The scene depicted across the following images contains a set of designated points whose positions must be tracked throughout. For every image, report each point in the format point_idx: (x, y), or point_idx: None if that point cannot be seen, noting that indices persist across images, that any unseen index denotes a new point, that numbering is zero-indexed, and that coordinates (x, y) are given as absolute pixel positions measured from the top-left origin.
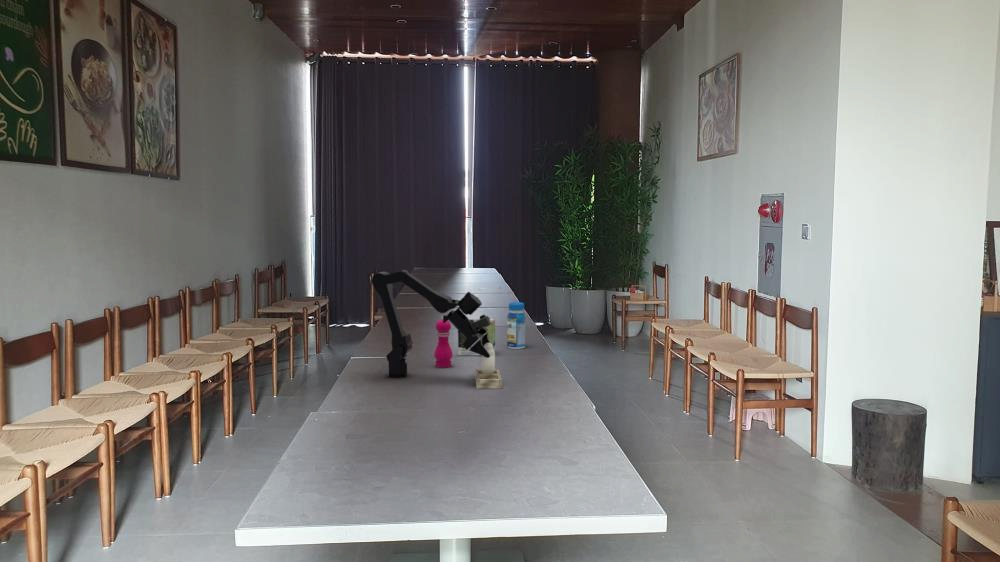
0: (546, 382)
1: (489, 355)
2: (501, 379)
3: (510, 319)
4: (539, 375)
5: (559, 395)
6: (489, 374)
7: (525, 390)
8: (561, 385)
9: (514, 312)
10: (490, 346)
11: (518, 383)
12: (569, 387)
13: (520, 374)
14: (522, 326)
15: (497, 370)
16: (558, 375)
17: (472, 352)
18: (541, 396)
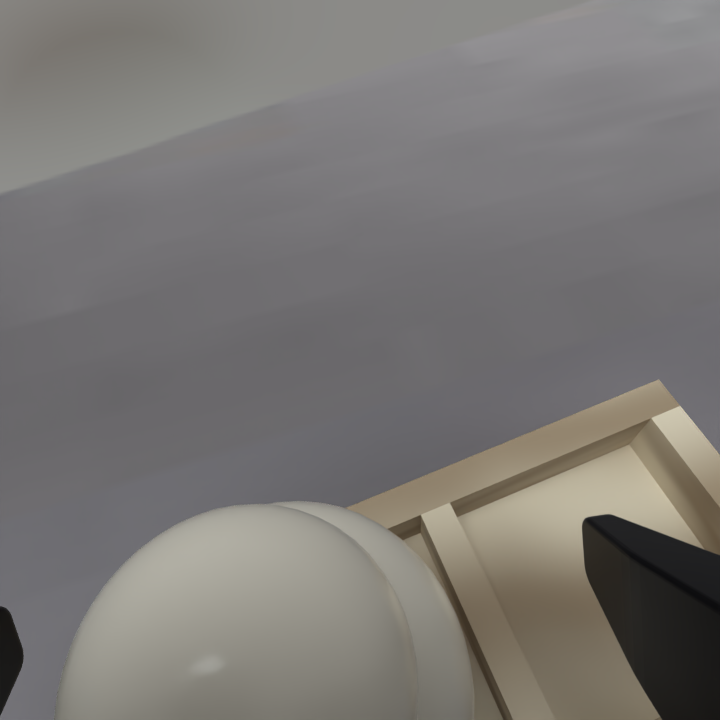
0: (286, 198)
1: (625, 522)
2: (649, 387)
3: None
4: (73, 289)
5: (581, 72)
6: (486, 614)
7: (581, 242)
8: (338, 119)
9: None
10: (357, 545)
11: (386, 348)
12: (371, 81)
13: (42, 431)
14: None
15: None
16: (65, 193)
17: None
18: (671, 129)
